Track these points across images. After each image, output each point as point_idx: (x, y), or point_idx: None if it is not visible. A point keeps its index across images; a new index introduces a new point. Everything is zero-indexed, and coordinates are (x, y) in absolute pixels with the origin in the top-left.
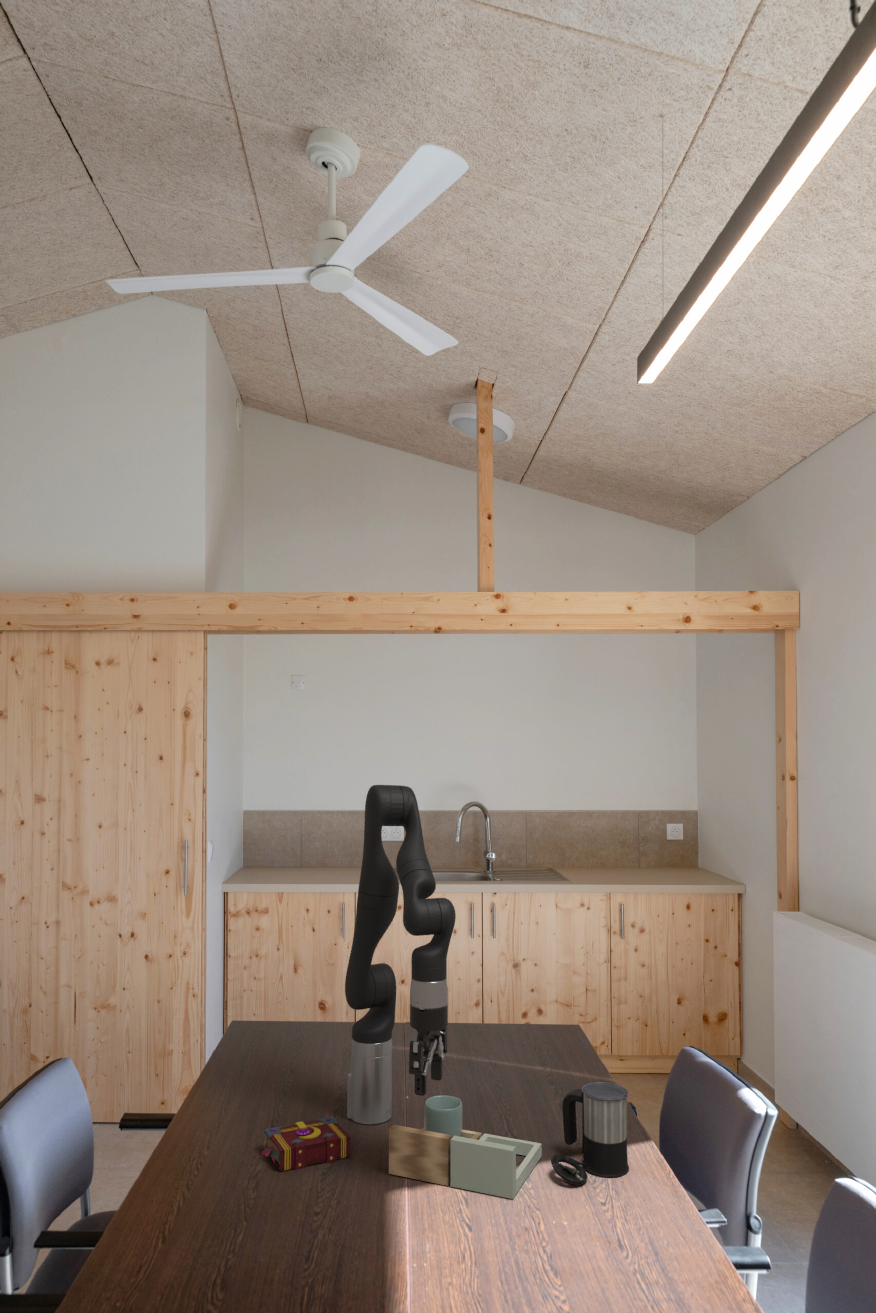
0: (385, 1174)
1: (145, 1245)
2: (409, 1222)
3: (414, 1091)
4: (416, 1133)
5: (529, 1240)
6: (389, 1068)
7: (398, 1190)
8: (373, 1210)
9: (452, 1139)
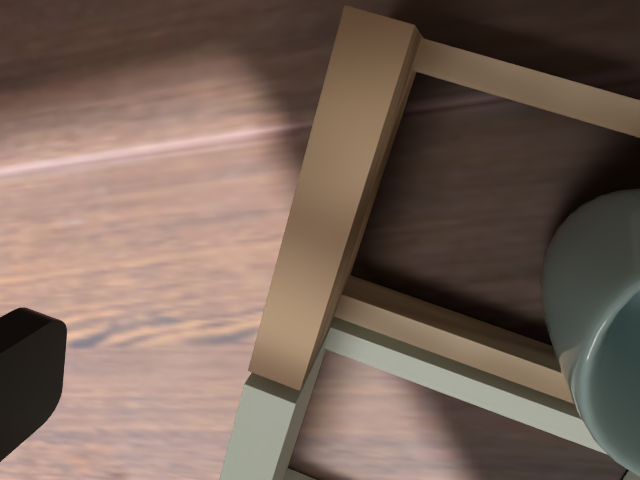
0: (383, 12)
1: None
2: (62, 169)
3: (11, 311)
4: (293, 203)
5: (70, 474)
6: None
7: (253, 98)
8: (97, 27)
9: (247, 392)
